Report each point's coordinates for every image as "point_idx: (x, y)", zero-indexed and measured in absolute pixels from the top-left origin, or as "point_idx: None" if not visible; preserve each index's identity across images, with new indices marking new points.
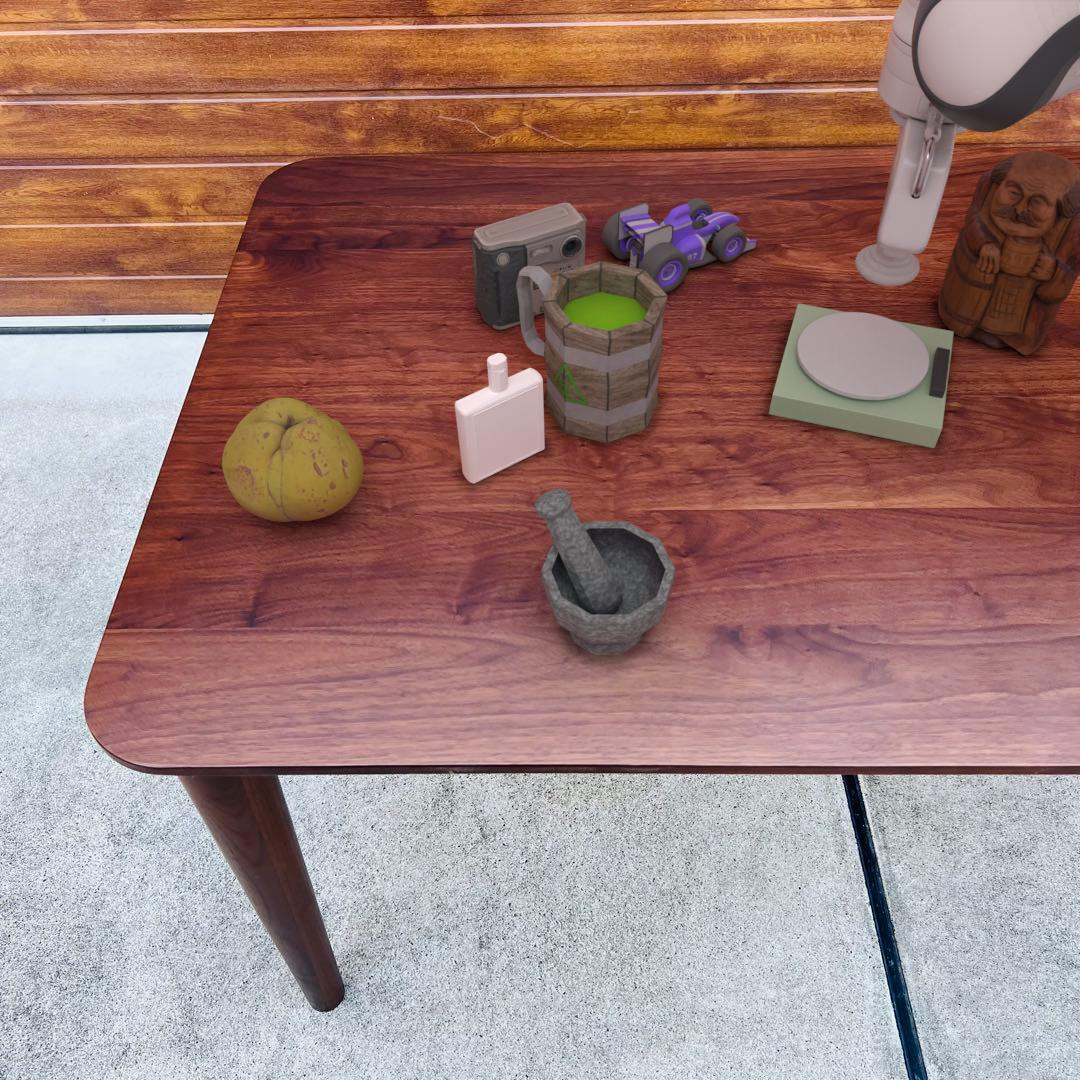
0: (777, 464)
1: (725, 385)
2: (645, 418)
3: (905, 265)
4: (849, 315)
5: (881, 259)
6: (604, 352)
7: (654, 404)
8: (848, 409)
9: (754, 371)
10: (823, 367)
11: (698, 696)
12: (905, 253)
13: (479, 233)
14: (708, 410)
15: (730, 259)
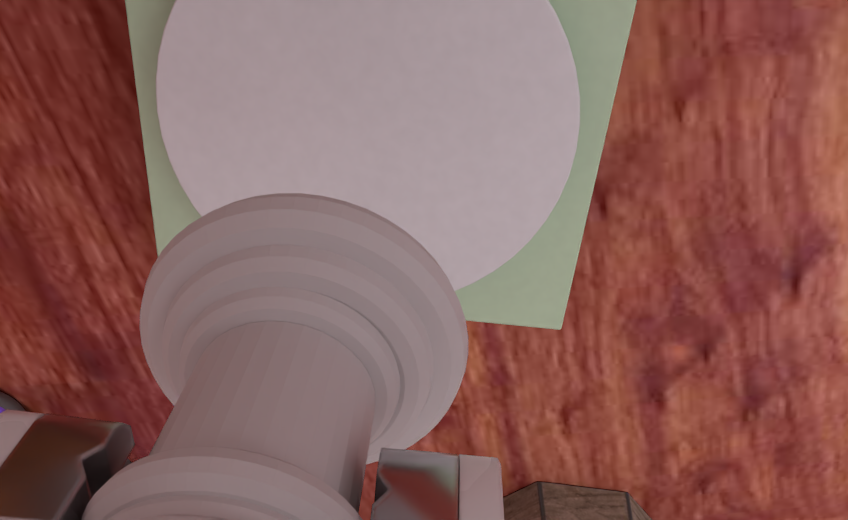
0: (727, 262)
1: (465, 377)
2: (632, 518)
3: (372, 316)
4: (194, 175)
5: (375, 436)
6: None
7: (569, 497)
8: (602, 146)
9: None
10: (465, 238)
11: None
12: (497, 470)
13: None
14: (554, 401)
15: (11, 404)
